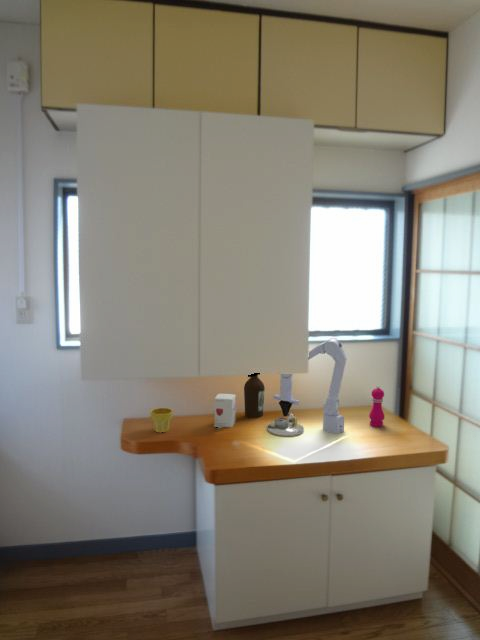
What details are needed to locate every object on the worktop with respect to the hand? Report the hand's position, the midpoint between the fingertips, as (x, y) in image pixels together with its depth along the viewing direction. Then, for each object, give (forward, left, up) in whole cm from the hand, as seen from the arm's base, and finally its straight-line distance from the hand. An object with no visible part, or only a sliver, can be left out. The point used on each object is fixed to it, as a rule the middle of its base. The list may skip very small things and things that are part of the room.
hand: (285, 415), depth 227 cm
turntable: (-6, +7, -4) cm, 10 cm away
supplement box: (+21, +21, -5) cm, 30 cm away
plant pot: (+37, +47, -5) cm, 60 cm away
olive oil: (+20, +1, -5) cm, 21 cm away
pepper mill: (-31, -33, -5) cm, 46 cm away
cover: (-3, +7, -3) cm, 8 cm away
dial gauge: (0, -3, -5) cm, 6 cm away
